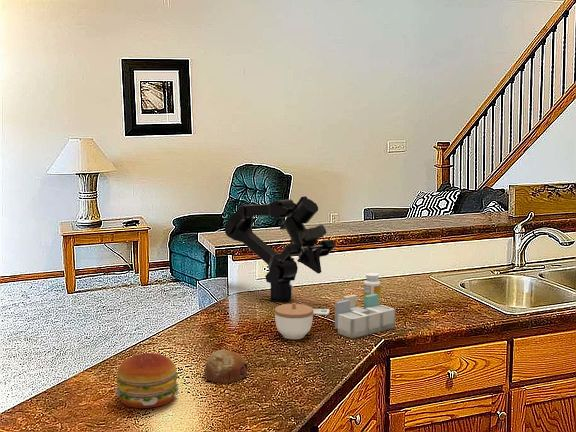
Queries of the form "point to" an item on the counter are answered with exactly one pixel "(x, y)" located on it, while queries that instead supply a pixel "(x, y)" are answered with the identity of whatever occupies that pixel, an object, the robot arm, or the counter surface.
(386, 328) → the gray divided box
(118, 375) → the burger
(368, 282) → the supplement bottle
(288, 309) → the lidded jar
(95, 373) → the counter surface
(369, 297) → the button teal
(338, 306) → the drawer slate
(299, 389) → the counter surface
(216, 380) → the bread roll
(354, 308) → the button tan
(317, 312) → the card
